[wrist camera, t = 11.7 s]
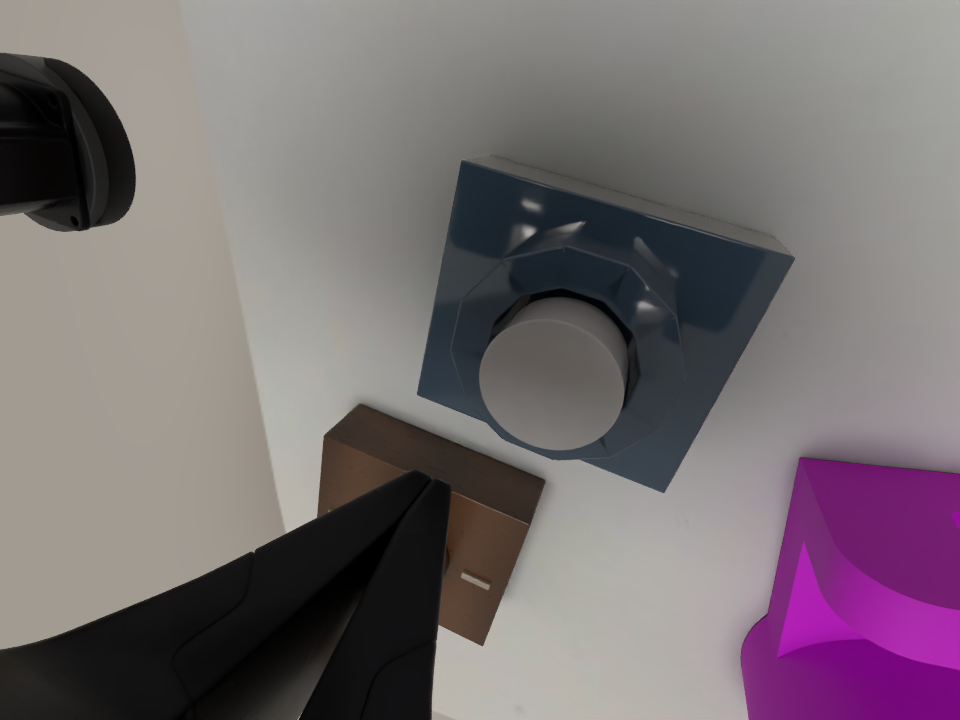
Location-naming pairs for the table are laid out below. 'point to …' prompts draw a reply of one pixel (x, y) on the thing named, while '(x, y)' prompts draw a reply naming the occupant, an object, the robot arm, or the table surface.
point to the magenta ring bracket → (862, 600)
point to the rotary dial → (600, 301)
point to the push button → (556, 374)
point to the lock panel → (473, 514)
